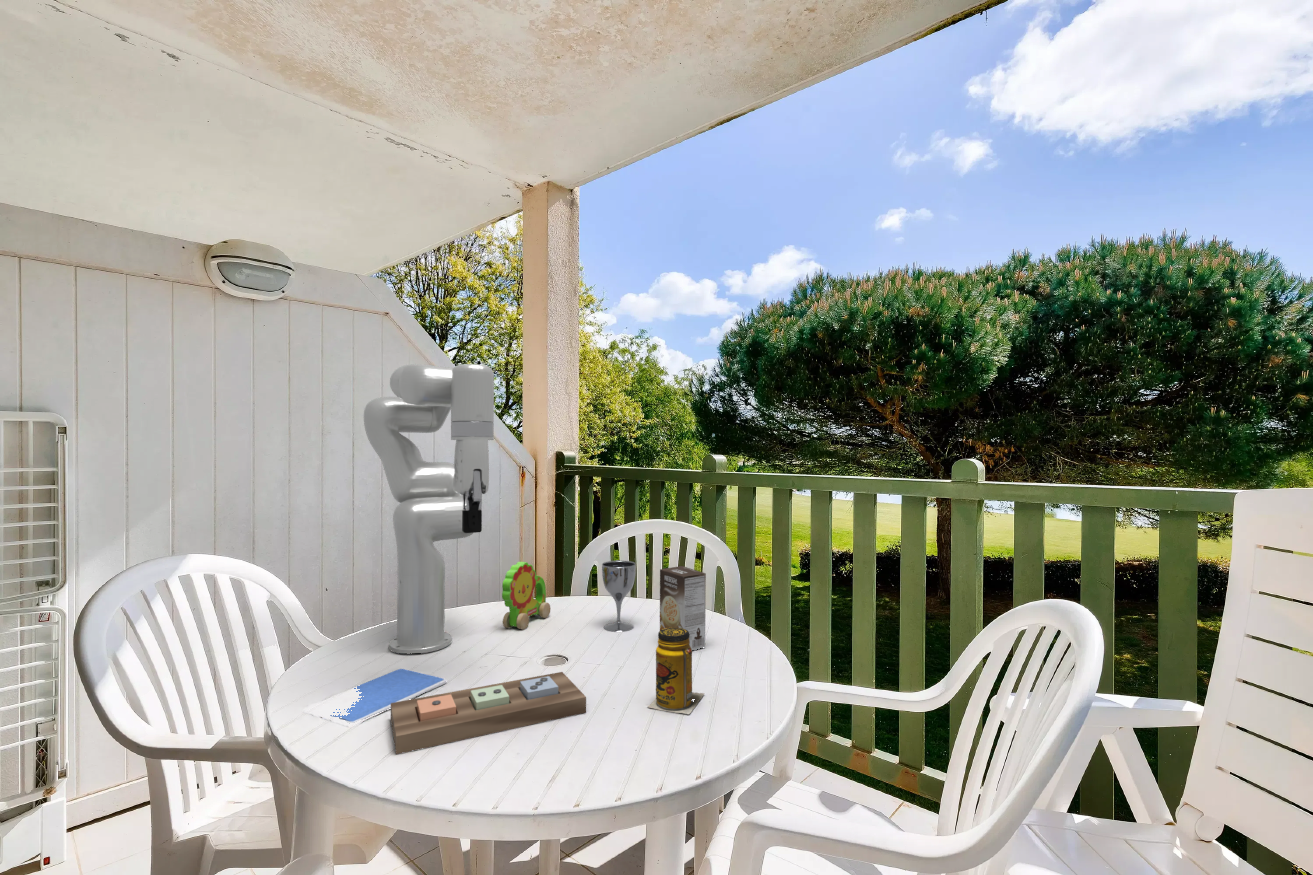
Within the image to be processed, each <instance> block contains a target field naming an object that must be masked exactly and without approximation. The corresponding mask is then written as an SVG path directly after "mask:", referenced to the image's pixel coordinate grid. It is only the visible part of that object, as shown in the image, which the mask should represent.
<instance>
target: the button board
mask: <svg viewBox="0 0 1313 875" xmlns="http://www.w3.org/2000/svg"><path fill="white" fill-rule="evenodd" d="M547 676H549V677H550V678H551V679H552V680H553V681H554V682H555V683H556V685H557V686H558V694H555V695H550V696H545V697H540V698H535V699H530V700H526V698H525V697H524V696H523V694H522V693H521V691H520V681H526V680H531V679H537V678H542V677H547ZM499 685H502V686H503V687H504V689H505V690H506V692H507V693H508V695H509V704H505V705H500V706H495V707H490V708H485V709H480V710H474V708H473V706H472V703H471V691H472V690H477V689H482V688H488V687H493V686H499ZM450 694H451V695H452V698H453V700H454V703H455V705H456V714H455V715H450V716H445V717H440V718H435V719H430V720H425V721H420V722H418V718H417V700H423V699H428V698H434V697H439V696H444V695H450ZM586 713H587V696H586V695H585V693H583V692H582V691H581V690H580V689H579V688H578V686H576V684H575V683H573V682H572V680H571V679H570V678H569V677H568V676H567V675H566V674H565V673H564V672H563V671H559V672H558V671H557V672H554V673H553V672H552V673H550V674H549V673H548V674H543V675H537V676H532V677H526V678H520V679H515V680H510V681H509V680H508V681H506V682H505V681H504V682H499V683H494V684H488V685H483V686H482V685H481V686H477V687H472V688H467V689H466V688H465V689H461V690H455V691H449V692H444V693H443V692H442V693H438V694H434V695H428V696H423V697H415V698H413V699H411V700H405V701H400V702H394V703H391V709H390V724H391V723H392V725H391V730H393V731H392V736H394V738H393V742H394V743H395V744H394V750H396V751H395V754H396V755H400V754H403V753H402V752H405V753H408V752H409V751H410V752H413V751H412V750H414V751H418V749H419V750H423V749H427V748H431V747H436V746H440V745H445V744H449V743H454V742H458V741H459V742H460V741H463V740H467V739H472V738H478V737H481V736H487V735H491V734H495V733H499V732H504V731H509V730H513V729H518V728H523V727H526V726H531V725H537V724H540V723H541V724H542V723H545V722H546V723H547V722H550V721H554V720H555V721H556V720H558V719H563V718H567V717H572V716H577V715H581V714H586ZM422 748H423V749H422ZM399 753H400V754H399Z"/></svg>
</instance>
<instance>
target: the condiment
mask: <svg viewBox="0 0 1313 875" xmlns="http://www.w3.org/2000/svg"><path fill="white" fill-rule="evenodd" d="M657 636H658V638H657V647H656V648H655V699H654V700H652V702H651V703H650V704H649V705H648V706H647V708H648V709H649V708H650V709H655V710H660V711H664V712H671V713H675V714H679V713H680V714H685V715H690V714H691V713H692V712H693V711H694V709H695V708H696V707H697V705H698V704H699V702H700V701H701V700H702V698H703V696H704V695H705V693H704V692H694V691H693V651H692V649H691V647H690V645H689V644H690V640H689V636H690V634H689V632H688V631H687V630H685V629H683V628H675V627H671V628H664V629H662V630H660V629H659V631H658V633H657ZM692 699H695V700H694V702H693V701H691V700H692Z"/></svg>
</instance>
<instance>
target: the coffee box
mask: <svg viewBox="0 0 1313 875" xmlns="http://www.w3.org/2000/svg"><path fill="white" fill-rule="evenodd" d="M706 579H707V573H706V572H703V571H699V570H696V569H693V568H690V567H688V566H683V565H678V566H675V567H667V568H661V569H659V631H660V630H662V629H664V628H671V627H675V628H683V629H685V630H687V631H688V632H689V634H690V636H689V640H690V644H689V645H690V647H691V649H692V650H695V651H698V650H697V649H699V650H701V649H700V648H703V647H705V648H706V604H707V603H706V602H707V601H706V600H707V599H706V593H707V592H706V591H707V590H706V585H707V584H706V583H707V582H706V581H707V580H706ZM703 649H704V648H703Z"/></svg>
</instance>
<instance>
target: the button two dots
mask: <svg viewBox="0 0 1313 875" xmlns="http://www.w3.org/2000/svg"><path fill="white" fill-rule="evenodd" d="M471 703H472V706H473V708H474V710H480V709H485V708H490V707H495V706H500V705H505V704H509V695H508V693H507V692H506V690H505V689H504V687H503V686H502V685H499V686H493V687H488V688H482V689H477V690H472V691H471Z"/></svg>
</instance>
